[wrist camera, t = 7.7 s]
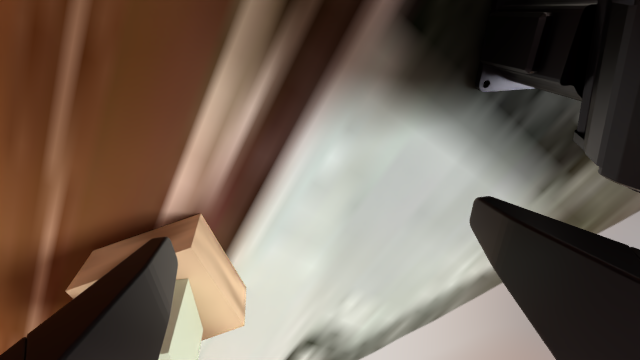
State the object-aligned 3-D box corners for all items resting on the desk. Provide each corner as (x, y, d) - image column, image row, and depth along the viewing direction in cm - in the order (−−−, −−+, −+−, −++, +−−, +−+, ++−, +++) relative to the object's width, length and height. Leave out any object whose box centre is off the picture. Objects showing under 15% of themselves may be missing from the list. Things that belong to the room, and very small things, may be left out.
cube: (188, 278, 20) (168, 353, 16) (203, 329, 22) (189, 406, 18) (103, 289, 19) (57, 370, 15) (128, 340, 22) (95, 423, 17)
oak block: (201, 210, 22) (191, 247, 19) (246, 284, 26) (244, 325, 23) (95, 247, 22) (65, 291, 19) (156, 315, 26) (140, 361, 23)
